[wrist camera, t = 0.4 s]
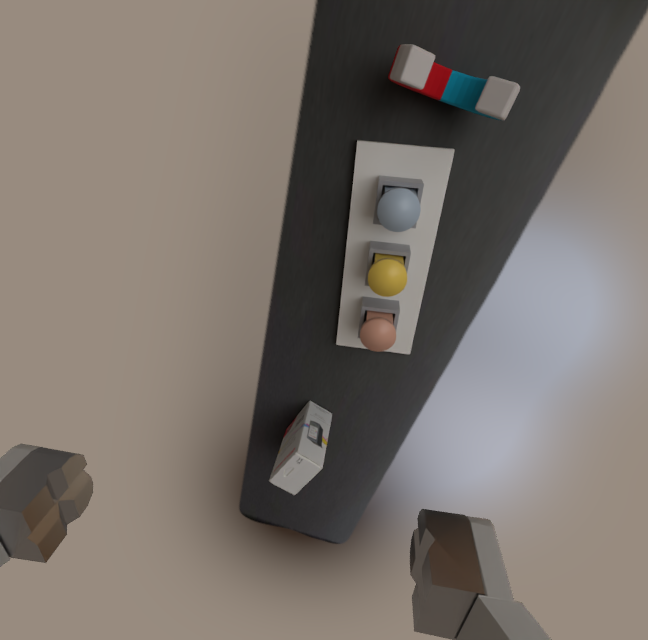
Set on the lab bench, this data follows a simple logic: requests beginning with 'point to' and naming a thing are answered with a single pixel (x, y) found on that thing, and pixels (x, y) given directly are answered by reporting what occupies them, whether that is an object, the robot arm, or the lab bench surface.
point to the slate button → (398, 208)
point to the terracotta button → (378, 331)
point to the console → (390, 235)
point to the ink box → (302, 449)
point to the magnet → (451, 84)
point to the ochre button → (387, 275)
